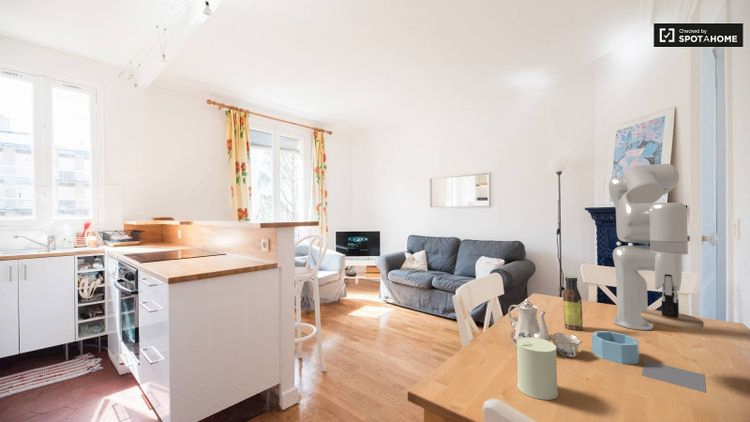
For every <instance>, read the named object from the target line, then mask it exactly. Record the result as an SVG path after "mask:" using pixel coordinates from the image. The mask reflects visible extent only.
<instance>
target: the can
mask: <svg viewBox="0 0 750 422" xmlns="http://www.w3.org/2000/svg"><path fill="white" fill-rule="evenodd" d="M516 351H517V352H516V355H517V356H516V357H517V359H516V360H517V362H516V363H517V383H516V386H517V389H518V390H519V391H521V393H523V394H524V395H526V396H528V397H530V398H534V399H537V400H542V401H544V400H545V401H550V400H554V399H556V398H558V395H559V392H558V378H557V377H558V373H557V371H558V370H557V369H558V368H557V347H556V346H555V345H554V344H553V342H552V341H550V340H549V341H547V340H544V339H539V338H533V337H524V338H519V339H518V340H517V347H516Z"/></svg>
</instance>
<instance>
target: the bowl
mask: <svg viewBox="0 0 750 422" xmlns="http://www.w3.org/2000/svg"><path fill="white" fill-rule="evenodd" d="M591 347H592V348H591V351H592V352H591V353H593V354H594V355H596V356H598V357H599V358H601V359H602V360H604V361H605V360H606V361H610V362H614V363H617V364H621V365H637V364H638V363H639V362H640V340H639V339H637V338H634V337H633V336H630V335H628V334H624V333H619V332H616V331H614V332H613V331H610V330H608V331H607V330H603V331H601V330H597V331H596V330H595V331H594V332H593V333H592V335H591Z"/></svg>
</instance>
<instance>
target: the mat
mask: <svg viewBox="0 0 750 422" xmlns="http://www.w3.org/2000/svg"><path fill="white" fill-rule="evenodd" d="M641 376H643V377H646V378H650V379H653V380H657V381H660V382H661V381H662V382H665V383H669V384H671V385H672V384H673V385H675V386H680V387H683V388H687V389H691V390H694V391H698V392H701V393H706V392H707V391H706V381H705V377H706V376H705V374H702V373H699V372H694V371H691V370H686V369H682V368H679V367H674V366H671V365H666V364H662V363H659V362H655V361H650V360H645V361H644V365H643V368H642V370H641Z"/></svg>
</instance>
